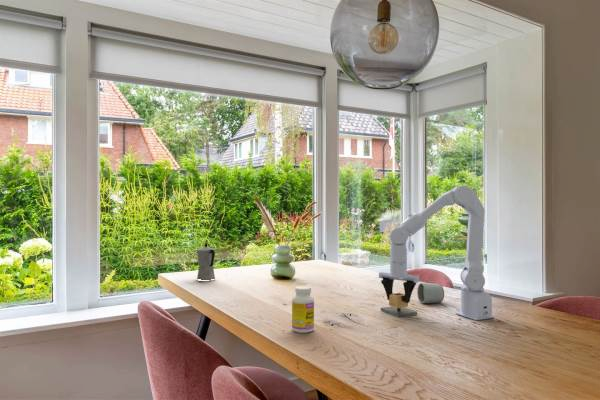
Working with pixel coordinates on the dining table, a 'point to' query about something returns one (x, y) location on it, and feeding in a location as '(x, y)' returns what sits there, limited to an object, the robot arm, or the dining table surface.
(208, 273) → the coffeepot
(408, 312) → the flat gray rectangular block
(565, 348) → the dining table surface
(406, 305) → the wooden block with hole
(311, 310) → the supplement bottle
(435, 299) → the ceramic mug
